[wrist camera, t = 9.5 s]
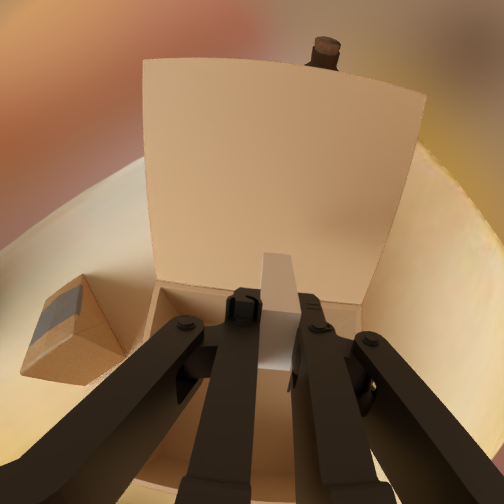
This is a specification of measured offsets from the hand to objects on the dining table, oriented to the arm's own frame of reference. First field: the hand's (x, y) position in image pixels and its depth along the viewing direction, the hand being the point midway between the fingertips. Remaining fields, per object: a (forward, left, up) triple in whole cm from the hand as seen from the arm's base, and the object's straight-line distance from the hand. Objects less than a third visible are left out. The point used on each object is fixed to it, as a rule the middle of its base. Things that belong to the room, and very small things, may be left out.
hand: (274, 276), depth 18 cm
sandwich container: (-11, -23, -25) cm, 35 cm away
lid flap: (-7, +3, -2) cm, 8 cm away
